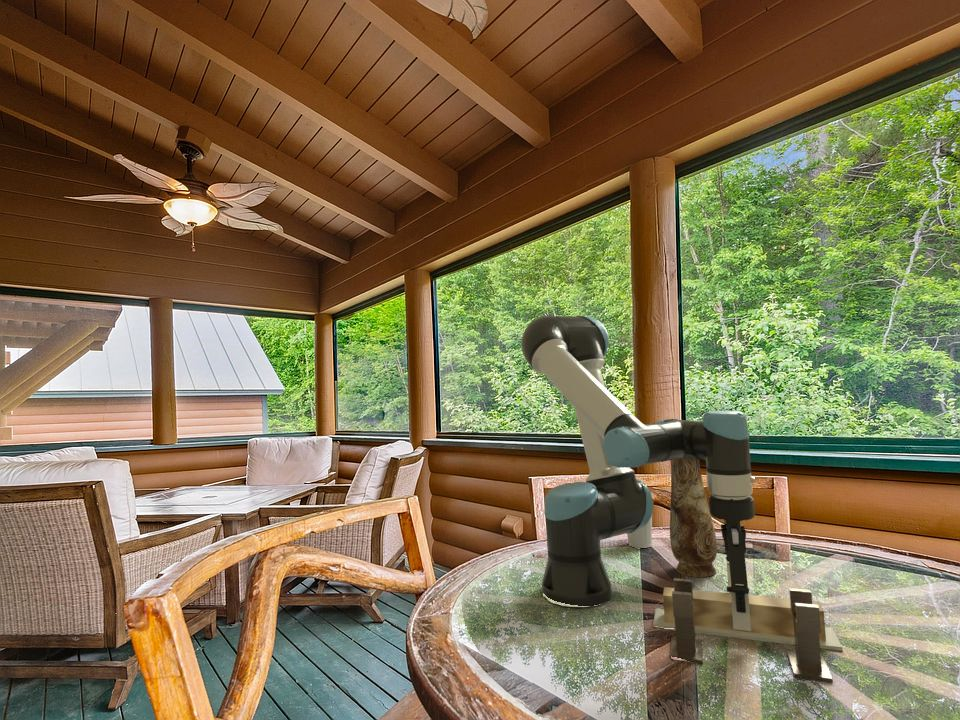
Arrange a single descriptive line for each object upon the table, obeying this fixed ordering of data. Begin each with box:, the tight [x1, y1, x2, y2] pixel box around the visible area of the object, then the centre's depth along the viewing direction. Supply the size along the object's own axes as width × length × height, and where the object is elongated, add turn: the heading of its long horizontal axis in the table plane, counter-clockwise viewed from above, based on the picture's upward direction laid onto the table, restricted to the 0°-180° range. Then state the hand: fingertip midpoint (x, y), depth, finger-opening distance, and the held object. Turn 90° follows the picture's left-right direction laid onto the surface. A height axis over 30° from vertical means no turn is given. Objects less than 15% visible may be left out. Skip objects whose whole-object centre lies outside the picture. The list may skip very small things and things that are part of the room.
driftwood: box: [717, 542, 779, 562], centre depth 136 cm, size 21×7×2 cm, turn 45°
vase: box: [669, 458, 718, 578], centre depth 125 cm, size 10×11×30 cm
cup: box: [626, 515, 653, 549], centre depth 145 cm, size 8×8×12 cm
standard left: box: [669, 577, 704, 665], centre depth 90 cm, size 5×7×11 cm
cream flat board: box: [652, 608, 843, 652], centre depth 96 cm, size 30×7×1 cm, turn 67°
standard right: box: [786, 587, 834, 684], centre depth 83 cm, size 5×7×11 cm
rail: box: [662, 586, 826, 641], centre depth 96 cm, size 26×4×5 cm, turn 67°
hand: (739, 612), depth 96 cm, fingers open, 12 cm apart
